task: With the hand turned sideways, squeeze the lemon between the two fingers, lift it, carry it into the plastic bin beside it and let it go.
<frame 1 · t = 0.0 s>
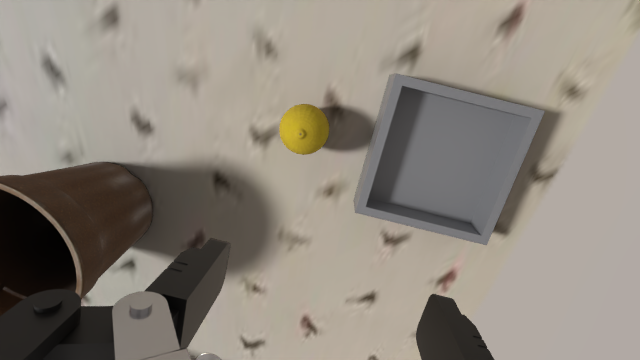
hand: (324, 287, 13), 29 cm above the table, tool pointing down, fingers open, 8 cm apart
lemon: (308, 125, 40), on the table
bin: (433, 156, 40), on the table
plant pot: (113, 202, 45), on the table
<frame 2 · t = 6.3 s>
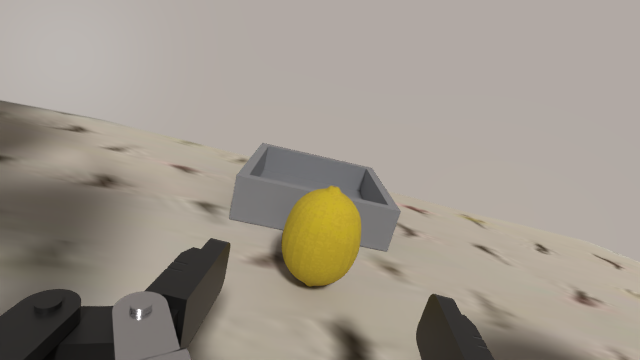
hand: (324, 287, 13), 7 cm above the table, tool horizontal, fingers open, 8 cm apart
lemon: (308, 287, 24), on the table
bin: (310, 205, 40), on the table
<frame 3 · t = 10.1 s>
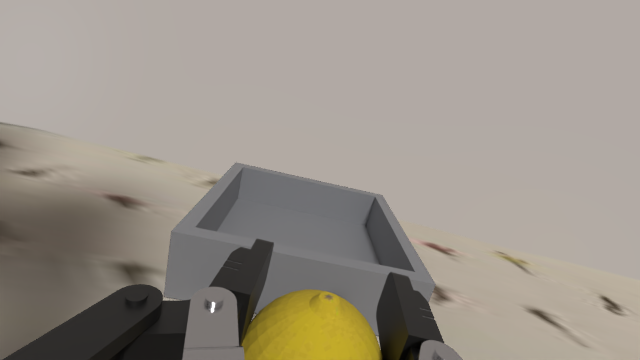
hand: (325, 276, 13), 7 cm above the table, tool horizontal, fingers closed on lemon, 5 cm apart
bin: (298, 254, 28), on the table
when the fingers open (10 cm above the table, at t = 17.4 s): lemon drops 2 cm, resting on bin.
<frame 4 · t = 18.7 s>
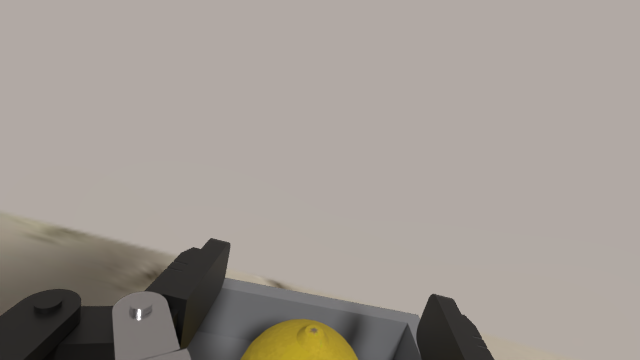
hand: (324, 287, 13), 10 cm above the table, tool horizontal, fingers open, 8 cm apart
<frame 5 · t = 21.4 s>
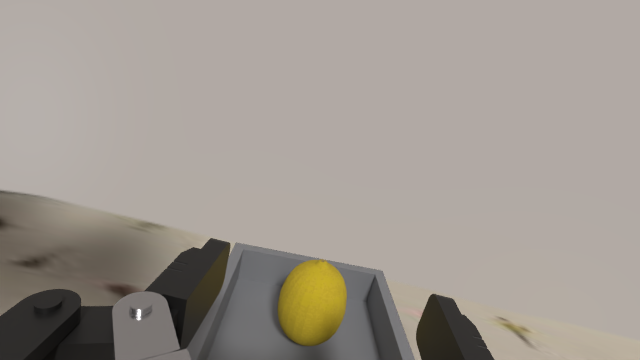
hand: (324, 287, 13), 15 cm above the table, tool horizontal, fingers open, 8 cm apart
lemon: (301, 343, 28), point 1 cm above the table, touching bin
bin: (298, 349, 28), on the table
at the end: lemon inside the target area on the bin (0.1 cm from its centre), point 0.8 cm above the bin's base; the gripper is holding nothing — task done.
